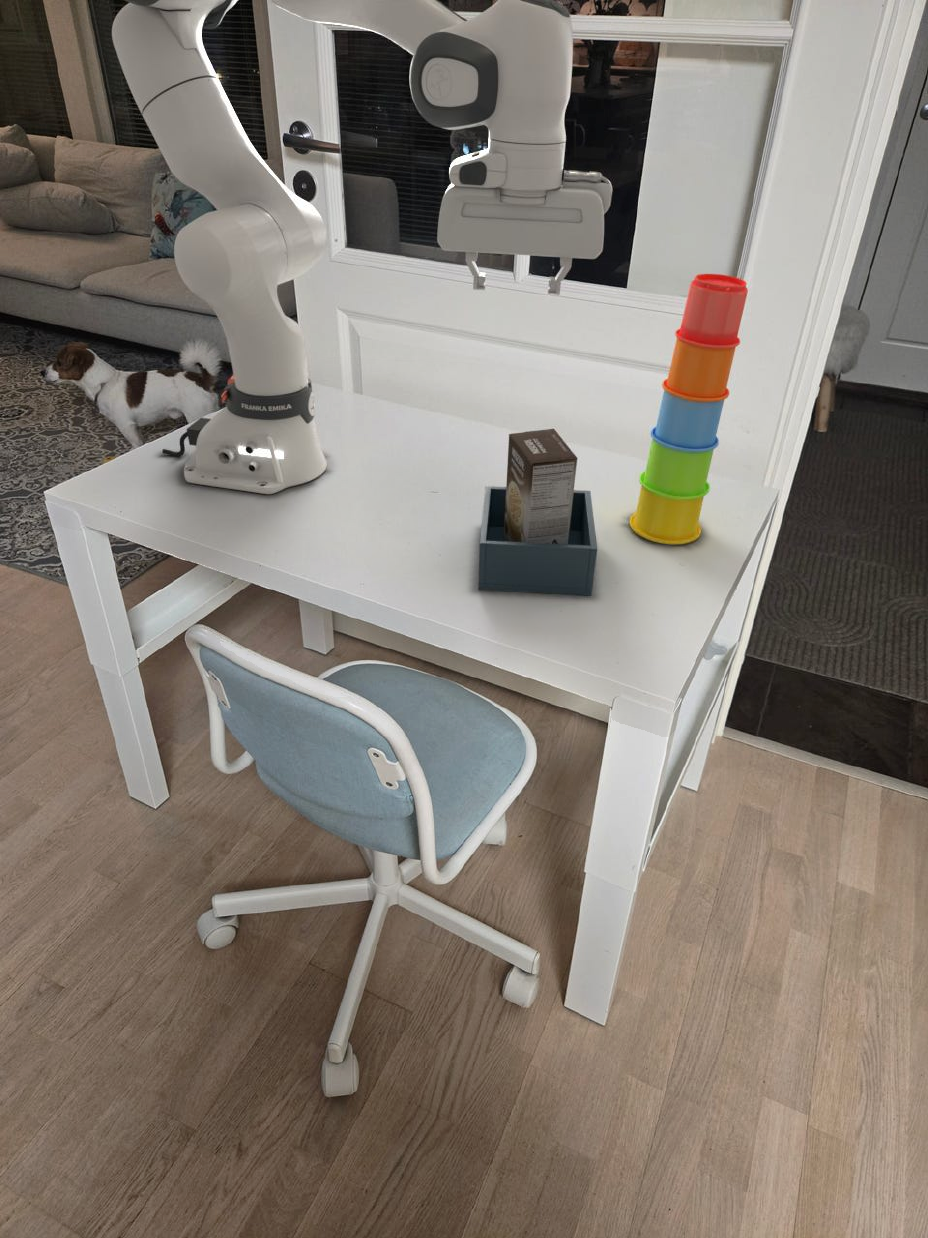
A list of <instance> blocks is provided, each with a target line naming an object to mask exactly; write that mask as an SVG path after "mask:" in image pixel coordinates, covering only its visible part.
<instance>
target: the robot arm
mask: <svg viewBox="0 0 928 1238" xmlns="http://www.w3.org/2000/svg"><path fill="white" fill-rule="evenodd" d="M124 1H125V2H127V4H126V5H124V6H123V7H122V8H121V9H120V10H119V11H118V12H117V14H116V16H115V17H114V20H113V21H112V22H113V23H112V27H111V39H112V43H113V47H114V49H115V51H116V52H115V53H116V56H117V59H118V61H119V65H120V66H121V67H120V68H121V70H122V73H123V75H124V79H125V80H126V83H127V85H128V88H129V90H130V92H131V94H132V96H133V100H134V101H135V104H136V105H137V108H138V109H139V112H140V114H141V116H142V117H143V119H144V122H145V123H146V126H147V128H148V129H149V131H150V133H151V135H152V137H153V139H154V141H155V143H156V145H157V147H158V148H159V150H160V152H161V154H162V156H163V159H164V160H165V163H166V164H167V166H168V168H169V170H170V171H171V173H172V175H173V176H174V177H175V178H176V179H177V180H178V181H179V182H180V183H182V184H183V185H185V186H186V187H188V188H190V189H192V190H194V191H196V192H197V193H199V194H200V195H202V196H203V198H205V199H206V200H208V202H209V203H210V204H211V205H212V206H213V207H214V208H215V210H212V211H209V212H205V213H204V214H202V215H201V216H199V217H197V218H195V219H194V220H192V221H191V222H189V223H188V224H186V225H185V226H183V227H182V228H181V229H180V230H179V232H178V233H177V235H176V236H175V240H174V245H173V257H174V263H175V267H176V270H177V272H178V274H179V277H180V278H181V280H182V282H183V283H184V284H185V286H186V287H187V288H188V289H189V291H190V292H192V293H193V294H194V295H195V296H196V297H198V298H199V299H201V300H203V301H204V302H205V303H206V304H208V305H209V307H210V308H211V309H212V311H213V313H214V314H215V315H216V317H217V319H218V320H219V323H220V325H221V327H222V329H223V332H224V336H225V338H226V342H227V347H228V352H229V357H230V358H229V359H230V362H231V369H232V376H231V377H230V378H229V379H228V380H227V385H226V386H225V387H224V388H223V393H222V394H221V395H220V397H221V403H222V404H225V405H226V406H225V407H224V408H223V409H222V410H220V411H219V412H218V413H217V414H216V415H214V416H213V417H212V418H206V417H200V418H199V419H198V420H196V421H195V422H193V423H192V424H191V425H190V426H188V427H187V428H186V431H185V432H184V433H183V434H181V436H180V438H179V451H173V450H169V449H166V448H162V450H161V452H162V454H165V455H168V456H171V457H177V458H178V457H181V456H183V455H184V454H185V452H186V448H185V440H186V439H187V440H188V444H189V446H195V452H193V454H191V456H190V457H188V459H187V461H186V463H185V464H184V468H183V477H184V479H185V482H187V483H188V484H189V483H190V484H194V485H195V484H196V485H202V486H210V487H217V488H222V489H229V490H234V491H235V490H236V491H242V492H243V491H244V492H250V493H256V494H257V493H258V494H263V495H264V494H265V495H272V494H276V493H278V492H281V491H283V490H284V489H287V488H291V487H294V486H299V485H302V484H306V483H308V482H311V481H313V480H315V479H317V478H318V477H320V476H321V475H322V474H323V473H324V472H325V471H326V470H327V468H328V467H327V466H328V463H327V460H326V457H325V455H324V453H323V450H322V447H321V444H320V440H319V437H318V432H317V428H316V423H315V419H314V418H315V412H316V407H315V397H314V396H315V395H314V391H313V385H312V380H311V379H310V378H309V374H308V362H307V353H306V352H307V351H306V341H305V334H304V331H303V329H302V327H301V326H300V325H299V323H297V321H295V320H294V319H292V318H290V317H288V316H287V315H286V314H285V312H284V311H283V308H282V306H281V303H280V299H279V296H278V286H279V285H281V284H285V283H287V282H289V281H293V280H296V279H298V278H300V277H302V276H304V275H305V274H306V273H308V272H309V271H310V270H312V269H313V268H314V267H315V266H316V265H317V264H318V263H319V262H320V261H321V260H322V258H323V257H324V256H325V253H326V249H327V247H328V246H327V245H328V236H327V235H328V234H327V229H326V225H325V223H324V219H323V218H322V216H321V214H320V213H319V212H318V210H317V209H316V207H315V206H314V205H312V204H311V203H310V202H308V201H307V200H305V199H303V198H302V197H300V196H299V195H296V194H295V193H294V192H293V191H291V190H290V189H289V188H288V187H287V186H286V185H285V184H284V183H283V181H282V180H280V179H279V177H278V176H277V175H276V174H275V173H274V171H273V170H272V169H271V168H270V167H269V165H268V164H267V163H266V162H265V160H264V159H263V158H262V156H261V155H260V153H258V151H257V149H256V148H255V147H254V145H253V144H252V142H251V141H250V139H249V137H248V135H247V133H246V132H245V130H244V127H243V126H242V124H241V122H240V120H239V118H238V116H237V114H236V112H235V110H234V108H233V106H232V104H231V102H230V99H229V98H228V96H227V93H226V92H225V90H224V87H223V86H222V83H221V81H220V79H219V76H218V75H217V73H216V71H215V69H214V68H213V64H212V63H211V60H210V59H209V57H208V55H207V52H206V49H205V46H204V44H203V37H202V31H203V29H205V30H215V29H216V28H217V27H219V25H220V24H221V23H222V21H223V19H224V17H225V16H226V13H227V12H229V10H230V9H232V8H233V7H234V6H235V5H236V4H237V3H238V1H239V0H124ZM268 2H270V3H272V4H273V5H275V6H276V7H278V8H280V9H282V10H284V11H286V12H288V13H289V14H292V15H295V16H297V17H298V18H301V19H302V20H306V21H309V22H313V23H321V24H329V25H338V26H339V25H340V26H345V27H352V28H358V29H362V30H367V31H370V32H374V33H376V34H378V35H381V36H382V37H385V38H387V39H388V40H391V41H392V42H393V43H395V44H396V45H398V46H399V47H401V48H402V49H403V50H406V52H408V53H409V54H411V55H412V58H411V62H410V66H409V67H410V68H409V77H408V78H409V88H410V95H411V98H412V101H413V103H414V105H415V108H416V109H417V111H418V113H419V115H420V116H421V117H422V118H423V119H424V120H425V121H426V122H428V124H430V125H433V126H434V127H437V128H441V129H445V130H449V131H456V130H457V131H458V130H463V129H469V128H470V129H471V128H475V127H476V128H477V127H479V126H485V127H487V129H488V146H487V148H486V149H483V150H478V151H474V152H472V153H469V154H466V155H462V156H460V157H457V158H455V159H454V160H452V162H451V163H450V167H449V169H448V170H449V171H448V175H449V177H448V178H449V181H450V184H449V185H448V186H447V189H446V190H445V192H444V194H443V197H442V199H441V203H440V209H439V214H438V222H437V232H436V233H437V236H436V241H437V244H438V246H439V247H440V248H441V250H443V251H445V252H461V253H462V252H464V253H465V263H466V265H467V268H468V269H469V271H470V273H471V275H472V277H473V283H472V284H473V285H472V289H473V291H486V283H487V282H486V279H487V273H486V272H481V271H480V269H479V268H478V266H477V261H478V257H479V253H481V254H496V255H497V254H499V255H500V254H501V255H517V256H532V257H533V256H535V257H536V256H537V257H549V258H550V257H551V258H559V265H560V269H559V271H558V272H557V274H556V275H555V276H549V277H548V287H547V295H553V296H555V295H556V296H560V293H561V285H562V282H563V281H564V280H565V277H566V276H567V275H568V273H569V272H570V270H571V268H572V264H573V259H586V260H595V259H597V258H598V257H599V256H600V255H601V254H602V252H603V250H604V238H605V214H606V213H608V211H609V209H610V207H611V203H612V197H613V186H612V183H611V181H610V180H609V179H608V178H607V177H606V176H603V175H602V173H601V172H598V171H589V172H588V171H580V170H570V169H564V163H565V152H566V144H567V143H566V142H567V135H566V126H565V115H566V114H565V113H566V110H567V106H568V105H569V101H570V98H571V89H572V78H573V77H572V75H573V60H574V59H573V58H574V57H573V56H574V33H573V32H574V31H573V23H572V17H571V15H570V13H569V11H568V10H567V8H566V7H565V6H564V5H563V4H562V3H560V2H559V1H556V0H497V1H496V2H495V3H493V4H492V5H491V6H490V7H488V8H487V9H486V10H484V11H483V12H481V13H479V14H477V15H475V16H474V17H472V18H470V19H466V18H464V17H463V16H461V15H460V14H458V13H457V12H456V11H454V10H452V9H451V8H450V7H449V6H448V5H447V6H446V5H445V4H444V3H442V2H441V1H439V0H268ZM601 181H603V182H601Z"/></svg>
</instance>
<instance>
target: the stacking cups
mask: <svg viewBox="0 0 928 1238" xmlns="http://www.w3.org/2000/svg"><path fill="white" fill-rule="evenodd" d="M748 293H749V289H748V287H747V281H746V280H744V279H742V278H739V277H736V276H732V275H726V274H721V273H698V274H696V275H695V276H694V280H692V281H691V282H690V284H689V289H688V294H687V298H686V302H685V307H684V310H683V315H682V319H681V324H680V327H679V328H678V329H676V330H675V332H674V335H675V338H676V339H675V343H674V349H673V353H672V358H671V363H670V367H669V371H668V376H667V378H666V379H664V380H663V381H662V384H661V387H662V389H663V394H662V399H661V403H660V407H659V413H658V417H657V421H656V426H654V427H653V428H652V429H651V431H650V437H651V443H650V444H651V445H650V450H649V452H648V458H647V463H646V468H645V471H643V472H641V474H640V475H639V478H638V481H639V483H640V491H639V495H638V501H637V505H636V506H637V507H636V512H634V513H633V514H632V515H631V516H630V518H629V526H630V528H631V530H632V531H633V532H634V533H635V534H637V535H638V536H640V537H642V538H644V539H645V540H648V541H650V542H654V543H659V544H663V545H674V546H675V545H684V544H689V543H692V542H694V541H696V540H697V539H698V538H699V537H700V535H701V532H702V527H701V525H700V523H699V519H700V515H701V510H702V507H703V501H704V497H705V496H707V495H708V494H709V493H710V489H711V486H710V483H709V482H708V476H709V471H710V469H711V468H710V467H711V464H712V458H713V454H714V451H715V449H716V448H718V447H719V445H720V441H719V438H718V436H717V434H718V429H719V424H720V421H721V416H722V412H723V408H724V403H725V400H726V399H728V397H729V395H730V389H729V388H728V382H729V377H730V373H731V369H732V365H733V360H734V357H735V351H736V348H737V347H738V346H739V345H740V344H741V339H740V337H738V335H739V331H740V327H741V322H742V319H743V314H744V310H745V305H746V301H747V296H748Z"/></svg>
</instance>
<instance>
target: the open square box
mask: <svg viewBox="0 0 928 1238" xmlns="http://www.w3.org/2000/svg"><path fill="white" fill-rule="evenodd" d="M505 504H506V486H492V485H490V486H489V485H486V486H485V487H484V499H483V505H482V506H483V509H482V515H481V516H482V517H481V527H480V536H479V537H480V539H479V552H478V553H479V556H478V581H477V582H478V585H477V587H478V588H477V589H478V590H479V591H497V592H499V591H500V592H518V593H536V594H555V595H556V594H557V595H575V596H578V595H579V596H592V593H593V586H594V579H595V578H594V577H595V570H596V562H597V556H598V541H597V536H596V535H597V534H596V526H595V518H594V510H593V502H592V494H591V490H580V489H579V490H577V489H574V493H573V502H572V511H571V519H570V528H569V537H568V545H565V544H545V543H524V542H505V541H504V522H505Z"/></svg>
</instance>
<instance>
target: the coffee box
mask: <svg viewBox="0 0 928 1238" xmlns="http://www.w3.org/2000/svg"><path fill="white" fill-rule="evenodd" d="M577 465H578V456H576V454H575V453H574V452H573V450H571V448H570V447H569V445H567V443H566V442H565V441H564V439H563V438H562V437H561V436H560V434H559V433H558V431H556V429H555V428H549V429H548V428H547V429H539V430H529V431H524V432H523V431H522V432H513V433H509V434H508V448H507V468H506V484H505V485H506V486H505V487H506V504H505V522H504V541H505V542H524V543H545V544H565V545H568V537H569V528H570V519H571V511H572V502H573V493H574V490H575V481H576V475H577Z"/></svg>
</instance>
